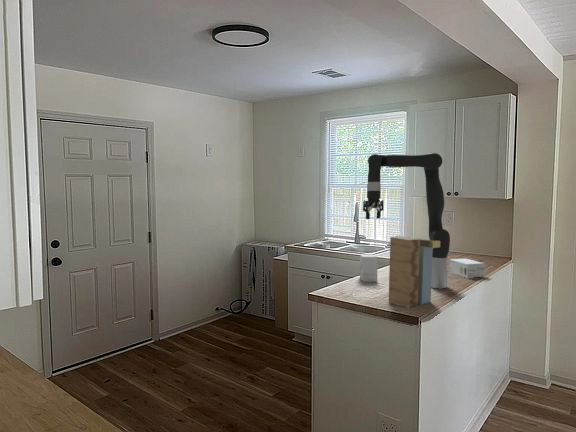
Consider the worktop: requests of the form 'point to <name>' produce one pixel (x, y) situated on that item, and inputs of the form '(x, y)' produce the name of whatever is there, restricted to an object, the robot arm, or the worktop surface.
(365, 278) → the supplement box
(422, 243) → the grey and tan bar
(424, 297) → the light blue tall block
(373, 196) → the robot arm
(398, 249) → the brown wooden tall block
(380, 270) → the worktop surface
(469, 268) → the supplement box
